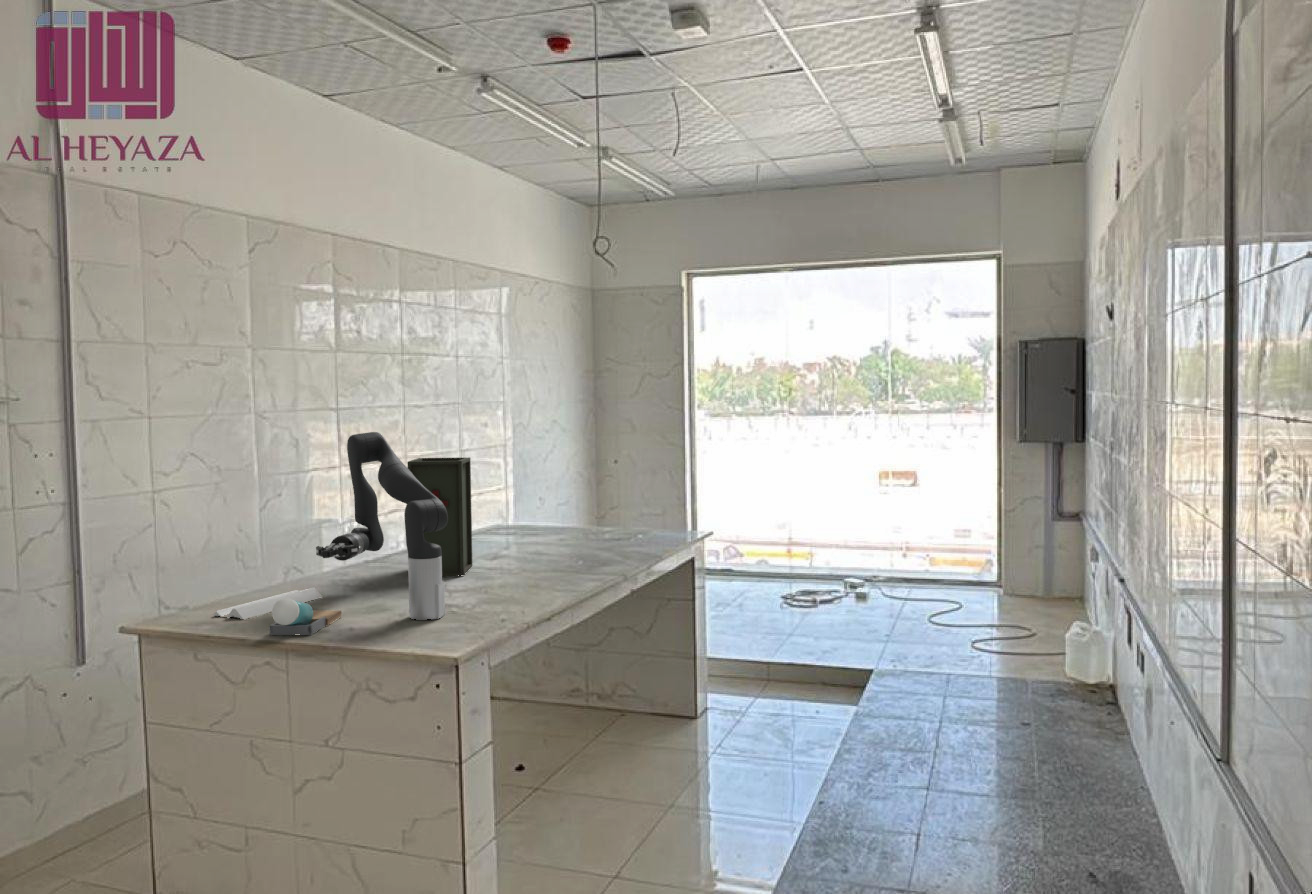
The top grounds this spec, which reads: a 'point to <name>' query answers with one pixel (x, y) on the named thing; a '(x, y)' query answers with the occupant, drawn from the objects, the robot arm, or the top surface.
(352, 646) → the top surface
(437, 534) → the first aid box
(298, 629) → the tray
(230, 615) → the crown molding
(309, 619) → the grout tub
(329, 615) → the light tan wooden board
